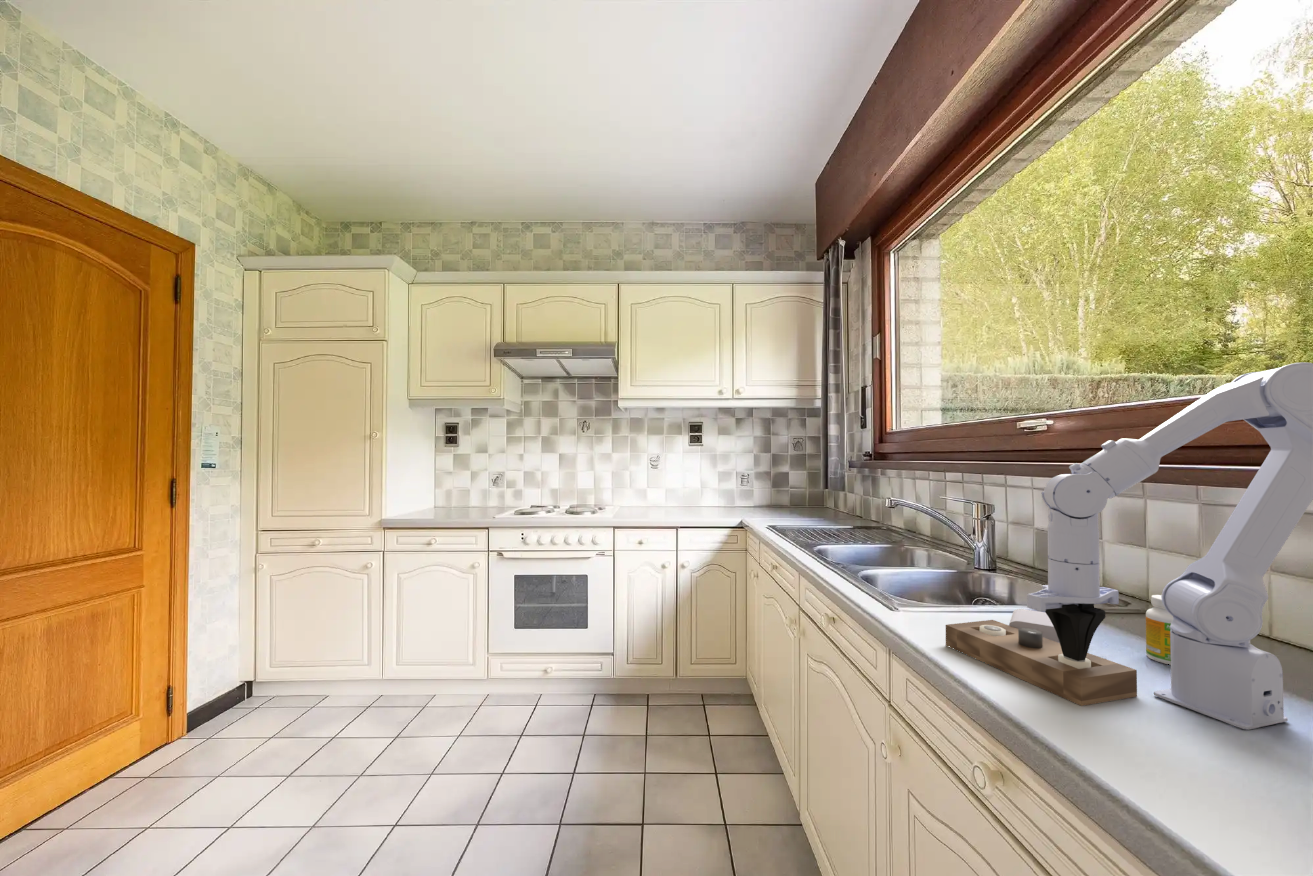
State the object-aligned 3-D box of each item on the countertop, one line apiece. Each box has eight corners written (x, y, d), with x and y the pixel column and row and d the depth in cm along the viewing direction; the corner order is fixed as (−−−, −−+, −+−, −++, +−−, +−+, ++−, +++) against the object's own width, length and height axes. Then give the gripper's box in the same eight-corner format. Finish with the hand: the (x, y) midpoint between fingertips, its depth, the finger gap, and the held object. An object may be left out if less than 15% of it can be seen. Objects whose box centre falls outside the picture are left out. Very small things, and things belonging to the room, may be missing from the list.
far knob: (1011, 650, 86) (1011, 630, 86) (993, 653, 85) (993, 632, 85) (991, 642, 90) (991, 623, 90) (974, 645, 89) (974, 625, 89)
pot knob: (1047, 647, 80) (1047, 633, 80) (1032, 649, 80) (1031, 635, 80) (1028, 640, 83) (1028, 627, 83) (1013, 642, 82) (1013, 629, 82)
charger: (1077, 635, 97) (1079, 661, 85) (1015, 625, 102) (1009, 648, 90) (1077, 608, 97) (1078, 630, 85) (1015, 599, 102) (1008, 619, 90)
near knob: (1097, 684, 74) (1097, 661, 74) (1078, 688, 73) (1078, 664, 73) (1071, 674, 77) (1070, 651, 77) (1052, 677, 76) (1051, 654, 76)
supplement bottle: (1164, 666, 82) (1163, 602, 82) (1137, 653, 88) (1136, 593, 88) (1203, 668, 82) (1202, 603, 82) (1173, 654, 87) (1173, 594, 87)
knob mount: (1137, 696, 72) (1136, 669, 72) (1081, 705, 69) (1081, 678, 69) (992, 640, 93) (992, 619, 93) (945, 645, 90) (945, 624, 91)
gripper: (1082, 552, 81) (1082, 643, 81) (1006, 557, 77) (1007, 653, 77) (1134, 562, 75) (1135, 661, 74) (1055, 567, 70) (1056, 672, 70)
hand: (1073, 658), depth 75 cm, fingers closed, pressing on near knob
